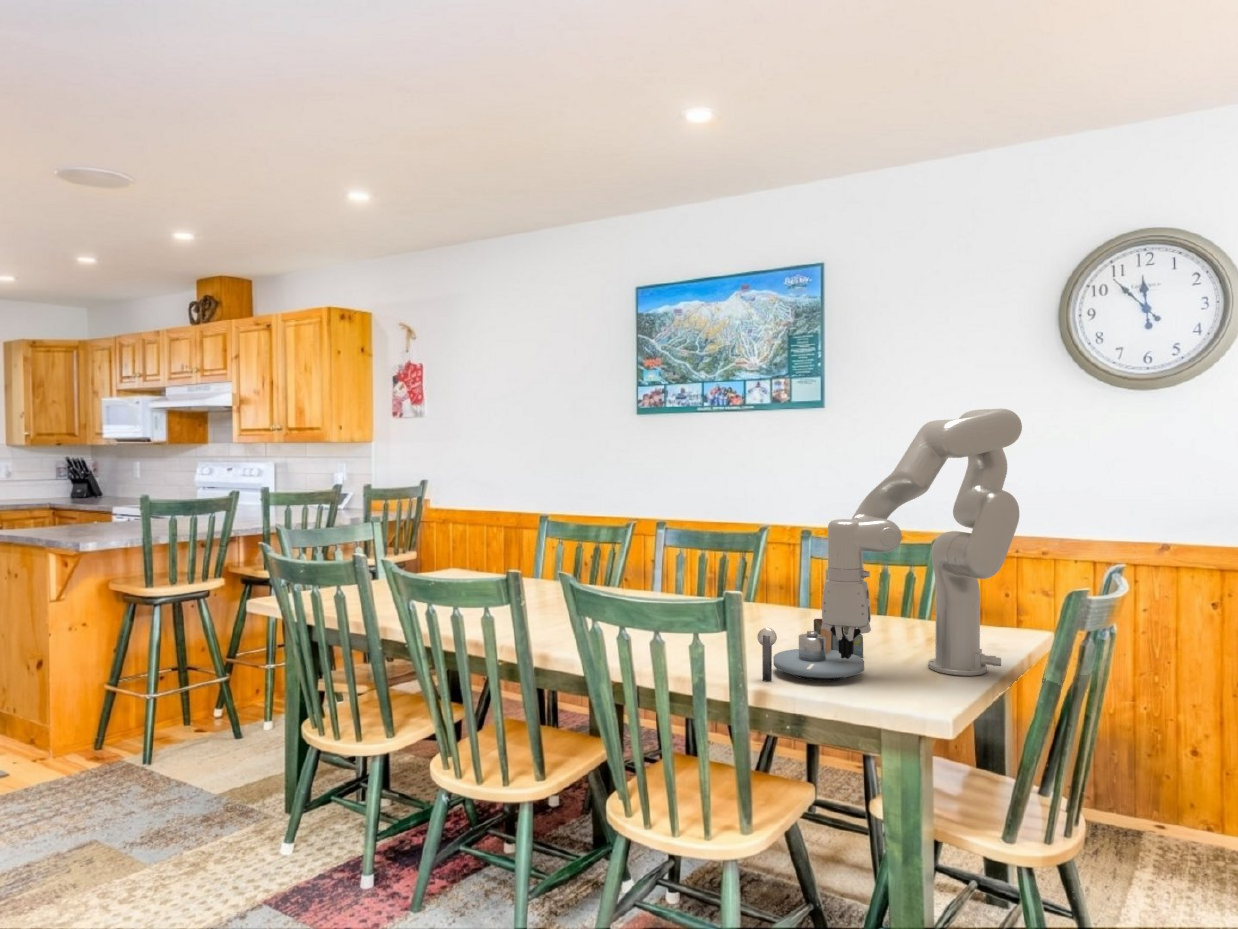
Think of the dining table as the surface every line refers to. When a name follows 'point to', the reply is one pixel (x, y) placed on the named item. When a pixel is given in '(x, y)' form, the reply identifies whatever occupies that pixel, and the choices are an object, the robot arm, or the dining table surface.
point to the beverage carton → (835, 642)
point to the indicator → (767, 651)
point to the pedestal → (818, 678)
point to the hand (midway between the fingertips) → (846, 657)
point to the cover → (812, 647)
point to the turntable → (819, 663)
